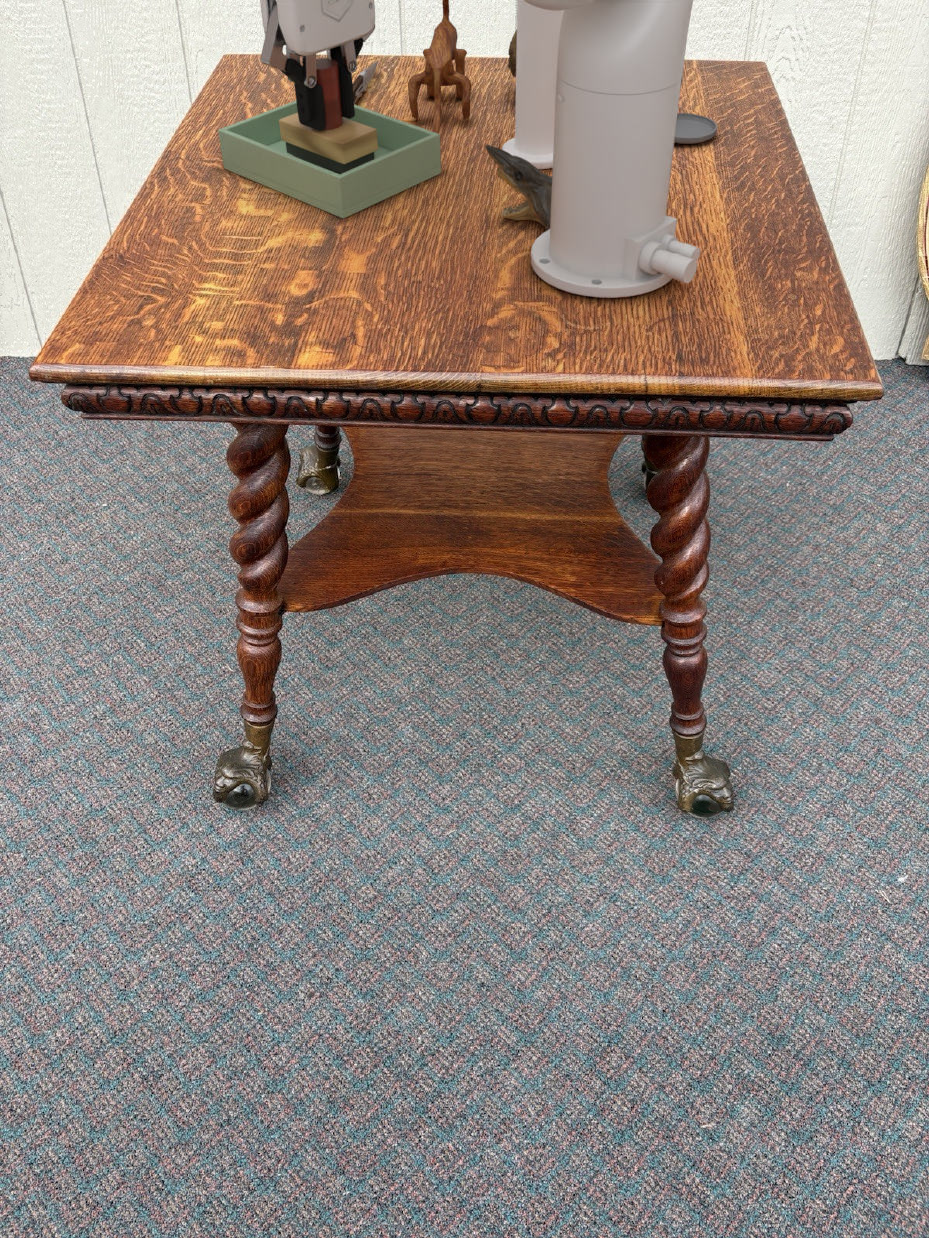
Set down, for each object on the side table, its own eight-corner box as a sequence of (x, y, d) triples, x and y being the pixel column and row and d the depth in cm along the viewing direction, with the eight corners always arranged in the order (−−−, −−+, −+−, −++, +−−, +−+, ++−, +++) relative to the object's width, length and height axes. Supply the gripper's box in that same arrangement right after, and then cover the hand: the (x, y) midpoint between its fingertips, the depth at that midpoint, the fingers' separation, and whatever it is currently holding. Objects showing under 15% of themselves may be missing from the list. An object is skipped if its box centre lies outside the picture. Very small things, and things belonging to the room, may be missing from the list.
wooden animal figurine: (466, 152, 115) (465, 4, 105) (401, 151, 115) (394, 3, 106) (478, 88, 128) (477, -50, 118) (419, 87, 128) (414, -50, 119)
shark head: (480, 235, 102) (480, 159, 97) (489, 204, 106) (490, 130, 102) (569, 240, 101) (573, 164, 96) (575, 208, 105) (579, 134, 101)
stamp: (379, 162, 110) (372, 68, 104) (345, 177, 108) (336, 81, 102) (316, 139, 115) (306, 47, 109) (282, 152, 112) (270, 59, 106)
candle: (561, 174, 111) (575, -127, 94) (492, 165, 113) (494, -132, 95) (580, 146, 116) (597, -145, 98) (513, 138, 117) (518, -150, 100)
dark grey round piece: (714, 150, 115) (729, 43, 108) (630, 144, 116) (639, 39, 109) (717, 119, 120) (732, 16, 113) (638, 114, 122) (647, 12, 115)
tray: (441, 173, 111) (440, 134, 109) (343, 219, 105) (339, 178, 102) (321, 129, 120) (318, 91, 117) (223, 168, 113) (217, 129, 110)
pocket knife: (351, 115, 123) (349, 96, 121) (343, 114, 123) (341, 95, 121) (382, 71, 132) (381, 53, 131) (374, 70, 132) (373, 52, 131)
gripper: (260, -75, 90) (289, 157, 103) (405, -114, 98) (415, 106, 111) (201, -90, 94) (235, 136, 106) (345, -126, 102) (361, 88, 115)
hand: (327, 119), depth 109 cm, fingers closed on stamp, 3 cm apart
